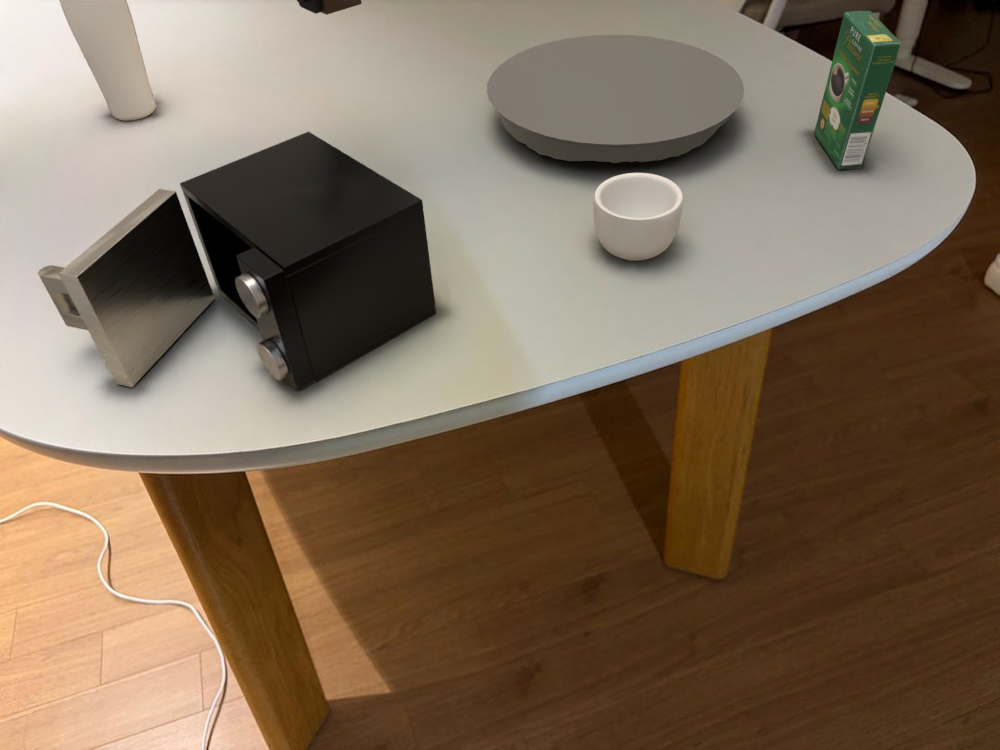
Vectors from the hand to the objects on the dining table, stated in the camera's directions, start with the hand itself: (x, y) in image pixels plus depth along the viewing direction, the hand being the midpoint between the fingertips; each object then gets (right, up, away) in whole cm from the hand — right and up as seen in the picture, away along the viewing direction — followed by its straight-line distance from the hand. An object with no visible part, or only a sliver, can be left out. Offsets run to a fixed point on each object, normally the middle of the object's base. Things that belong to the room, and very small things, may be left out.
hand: (332, 0), depth 76 cm
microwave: (0, -30, -7) cm, 31 cm away
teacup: (+29, -23, -2) cm, 37 cm away
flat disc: (+29, -7, +16) cm, 33 cm away
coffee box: (+52, -12, +9) cm, 54 cm away
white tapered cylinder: (-29, -3, +23) cm, 37 cm away
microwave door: (-14, -32, -9) cm, 36 cm away
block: (0, 0, 0) cm, 0 cm away
